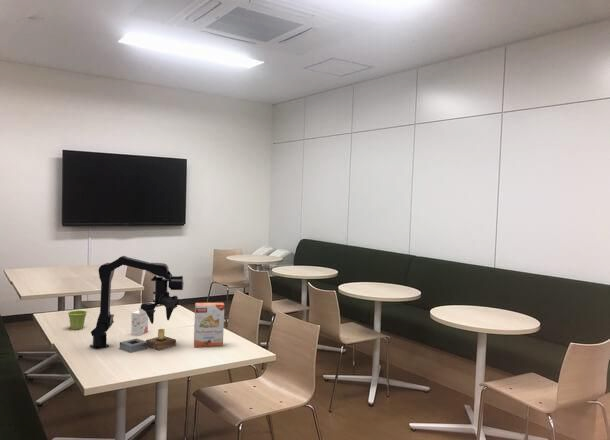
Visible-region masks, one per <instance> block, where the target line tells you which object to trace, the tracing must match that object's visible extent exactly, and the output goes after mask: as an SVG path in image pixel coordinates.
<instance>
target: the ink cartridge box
mask: <svg viewBox="0 0 610 440" xmlns="http://www.w3.org/2000/svg"><path fill="white" fill-rule="evenodd" d="M148 327H149V317H148V315H147V313H146V312H145V311H143V309H141V306H140V307H139V309H138V310H136V311H135V310H134V312H133V311H132V312H131V328H130V329H131V331H130V332H131V336H142V335H143V334H146V333H148V331H149V329H148ZM145 332H146V333H145ZM141 334H142V335H141Z"/></svg>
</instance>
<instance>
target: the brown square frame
mask: <svg viewBox="0 0 610 440" xmlns="http://www.w3.org/2000/svg"><path fill="white" fill-rule="evenodd" d="M145 341H146V342H148V348H149V349H153V350H157V351H162V350H165V349H168V348H169V349H170V348H173V347H176V346H177V339H176V338H172V337H169V336H165V335H164V341H161V342H160V341H158V336H156V337H153V338H148V339H146V340H145Z"/></svg>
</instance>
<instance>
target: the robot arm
mask: <svg viewBox="0 0 610 440" xmlns="http://www.w3.org/2000/svg"><path fill="white" fill-rule="evenodd" d="M121 266H124V267H125V266H126V267H130V268H134V269H138V270H142V271H147V272H149V273H150V274H152V275H154V276H153V277H152V278H151V279H150V281H151V282H154V291H152V292H153V295H154V299H153V300H152V302H149V301H147V302H142V303H141V304H140V307H141V309H142V310H143V311H145V312H146V313H147V315H148V321H150V324H152V325H153V324H154V320H155V318H154V317H155V312H156V308H158V307H163V306H164V307H165V316H166V320H167V321H170V319H171V316H172V314H173V312H174V309H176V308H178V306H180V299H179V297H178V296H177V295H173V296H170V292H169V291H168V288H169V289H170V290H171V291H183V290H184V283H185V282H184V276H183V275H179V276H178V275H177V276H175V275H173V274H172V273H171V272H170V270H169V265H167V264H166V263H164V262H148V261H144V260H141V259H138V258H134V257H129V256H126V255H122V256H120V257H118V258H117V259H115V260H114V261H111V262H106V263H104V264H101V265H100V266H99V268H98V277H99V280H100V283H101V284H100V286H101V287H100V303H99V304H100V305H99V307H100V309H99V314H98V318H97V322H96V325H95V327H94V328H93V329H92V330H91V331H90V334H91V336H92V344H90V345H89V347H90V348H92V349H96V350H99V349H103V348H107V347H110V344H108V343H107V339H108V338H107V336H108V335H107V332H108V330H110V328H112V325H113V324H114V322H115V321H114V317H115V314H112V313H111V293H112V292H111V289H112V286H111V285H112V281H113V277H114V274H115V270H117V269H118V268H120V267H121Z"/></svg>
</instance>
